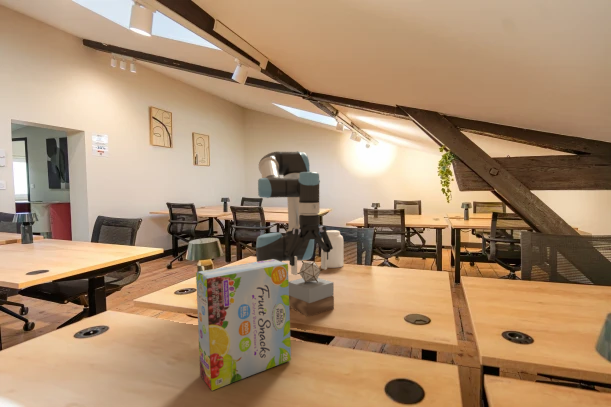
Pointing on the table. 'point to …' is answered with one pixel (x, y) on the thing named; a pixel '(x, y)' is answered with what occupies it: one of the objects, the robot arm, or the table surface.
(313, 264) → the game die
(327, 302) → the tower base
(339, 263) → the white plastic jar
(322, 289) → the tower top
